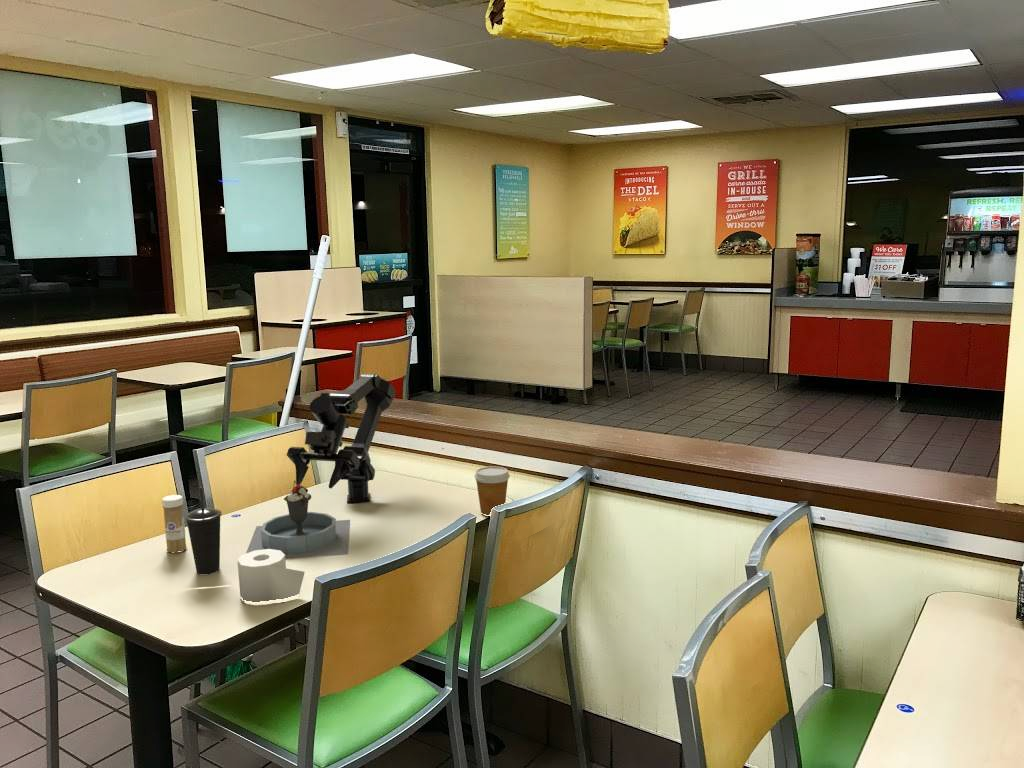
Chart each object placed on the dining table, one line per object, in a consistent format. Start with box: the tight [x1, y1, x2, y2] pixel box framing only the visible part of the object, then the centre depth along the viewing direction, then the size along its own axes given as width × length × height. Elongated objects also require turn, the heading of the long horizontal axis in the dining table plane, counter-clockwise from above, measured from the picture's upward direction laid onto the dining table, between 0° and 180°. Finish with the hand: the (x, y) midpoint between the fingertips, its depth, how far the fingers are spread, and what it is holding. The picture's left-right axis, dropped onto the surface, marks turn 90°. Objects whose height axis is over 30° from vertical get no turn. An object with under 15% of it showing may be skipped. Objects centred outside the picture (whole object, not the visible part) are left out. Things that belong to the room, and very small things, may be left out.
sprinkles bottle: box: [161, 494, 188, 553], centre depth 192 cm, size 5×5×13 cm
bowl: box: [261, 511, 337, 554], centre depth 198 cm, size 18×18×4 cm
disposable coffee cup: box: [473, 465, 511, 515], centre depth 215 cm, size 10×10×12 cm
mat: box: [245, 519, 351, 560], centre depth 198 cm, size 24×24×1 cm
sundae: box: [283, 480, 312, 536], centre depth 197 cm, size 7×7×15 cm
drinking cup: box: [184, 486, 222, 575], centre depth 179 cm, size 8×8×20 cm
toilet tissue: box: [237, 549, 305, 602], centre depth 168 cm, size 9×13×9 cm
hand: (313, 486), depth 204 cm, fingers open, 9 cm apart
